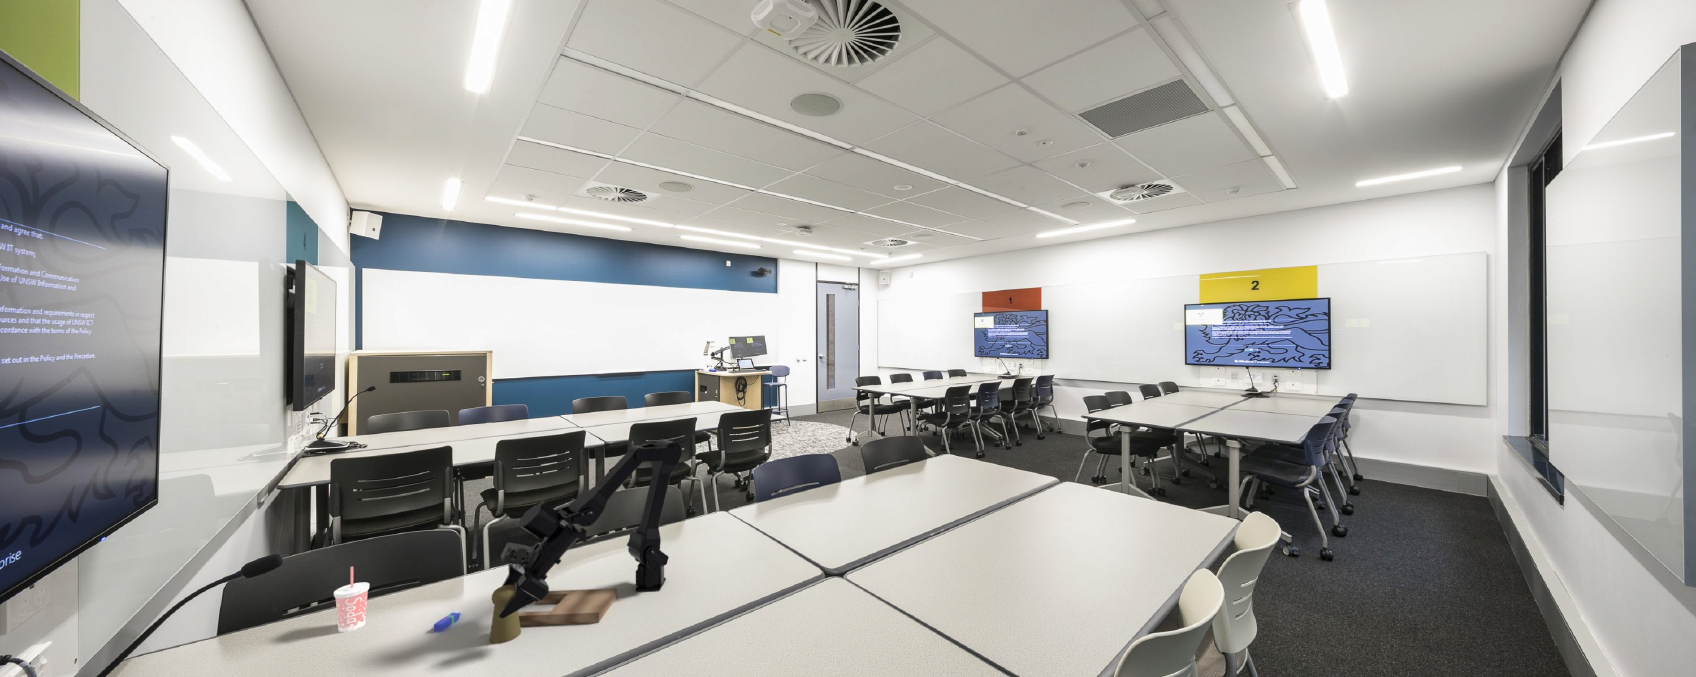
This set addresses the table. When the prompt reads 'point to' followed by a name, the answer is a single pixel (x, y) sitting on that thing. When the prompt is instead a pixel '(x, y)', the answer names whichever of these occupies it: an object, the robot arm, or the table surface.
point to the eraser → (447, 621)
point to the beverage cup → (351, 605)
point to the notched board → (571, 607)
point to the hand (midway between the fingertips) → (498, 608)
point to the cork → (506, 626)
